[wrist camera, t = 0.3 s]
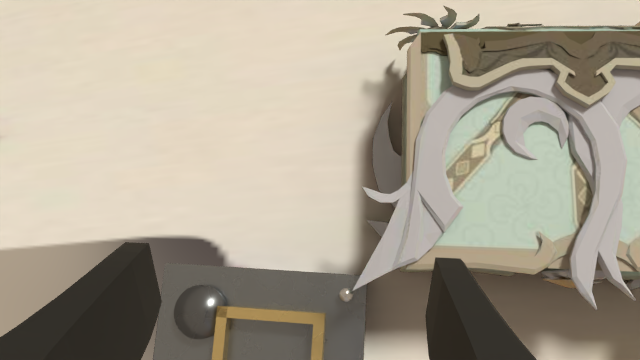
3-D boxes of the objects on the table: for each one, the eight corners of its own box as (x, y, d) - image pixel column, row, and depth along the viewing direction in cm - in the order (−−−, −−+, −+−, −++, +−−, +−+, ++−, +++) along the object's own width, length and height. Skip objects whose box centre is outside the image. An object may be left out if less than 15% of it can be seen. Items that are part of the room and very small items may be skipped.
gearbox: (359, 434, 39) (359, 452, 35) (160, 415, 40) (137, 429, 36) (367, 276, 41) (367, 275, 37) (179, 264, 43) (159, 262, 39)
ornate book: (702, 46, 44) (357, 43, 46) (798, -20, 34) (359, -20, 36) (736, 313, 39) (351, 297, 41) (858, 321, 30) (351, 300, 32)
